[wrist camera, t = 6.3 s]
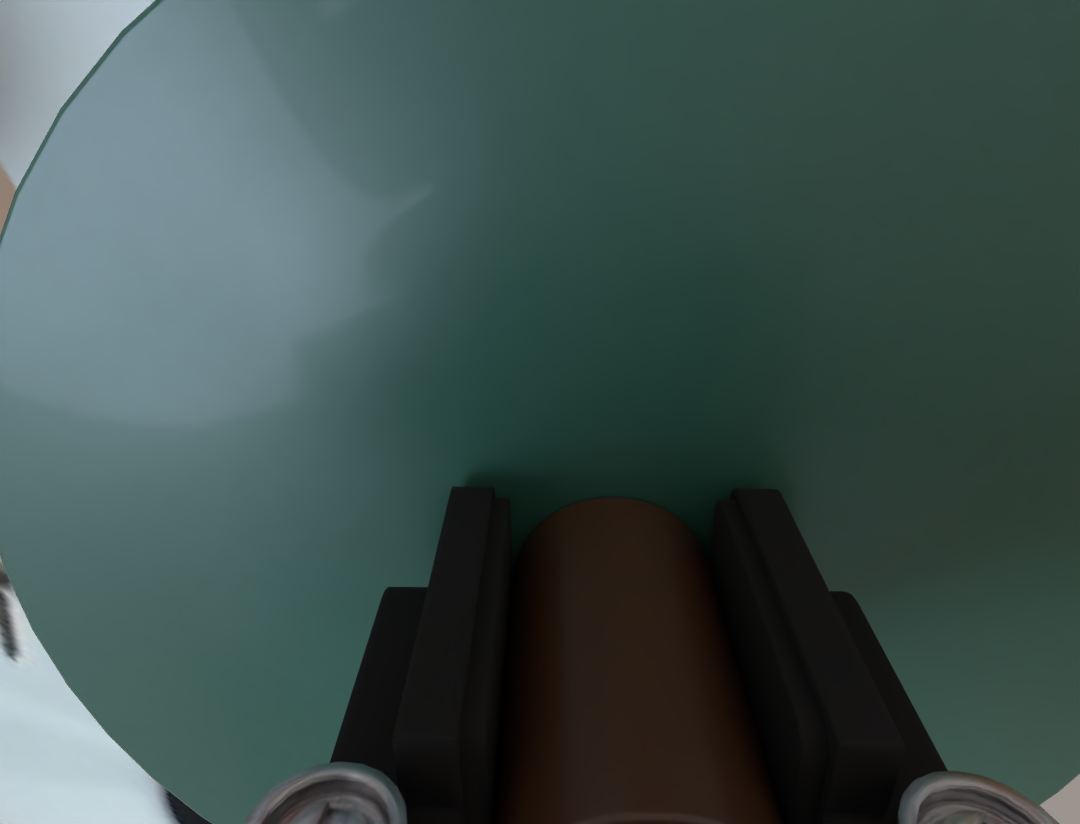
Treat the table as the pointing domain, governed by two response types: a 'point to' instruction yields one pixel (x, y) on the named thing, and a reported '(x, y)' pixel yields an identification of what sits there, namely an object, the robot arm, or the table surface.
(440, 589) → the robot arm
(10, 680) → the table surface
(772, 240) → the tin lid
